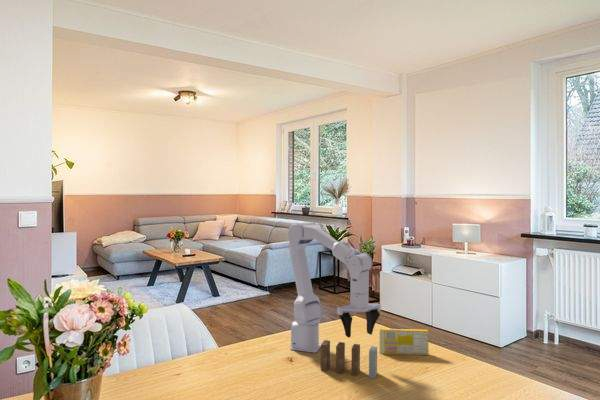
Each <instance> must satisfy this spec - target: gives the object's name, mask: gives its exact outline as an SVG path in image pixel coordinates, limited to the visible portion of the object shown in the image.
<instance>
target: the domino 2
mask: <svg viewBox="0 0 600 400" xmlns="http://www.w3.org/2000/svg"><path fill="white" fill-rule="evenodd" d="M345 347H346V343H345V341H344V342H341V341H338V343H337V344H336V346H335V373H336V374H343V372H344V370H345V367H346V365H345V364H346V363H345V362H346V361H345V360H346V358H345V357H346V355H345V354H346V352H345V351H346V349H345Z"/></svg>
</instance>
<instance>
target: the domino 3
mask: <svg viewBox="0 0 600 400" xmlns="http://www.w3.org/2000/svg"><path fill="white" fill-rule="evenodd" d="M350 362H351V366H350V367H351V368H350V369H351V375H352V376H358V375H359V372H360V371H361V344H358V343H353V345H352V347H351V361H350Z"/></svg>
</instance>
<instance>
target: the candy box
mask: <svg viewBox="0 0 600 400" xmlns="http://www.w3.org/2000/svg"><path fill="white" fill-rule="evenodd" d="M378 331H379V332H378V333H379V340H378V341H379V348H378V349H379V354H386V355H387V354H388V355H407V356H408V355H411V356H413V355H414V356H415V355H416V356H429V355H430V354H429V351H430V350H429V330H428V329H421V328H420V329H419V328H415V329H412V328H411V329H409V328H383V327H382V328H380V327H379V330H378Z"/></svg>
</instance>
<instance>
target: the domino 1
mask: <svg viewBox="0 0 600 400" xmlns="http://www.w3.org/2000/svg"><path fill="white" fill-rule="evenodd" d="M321 343H322V344H321V347H320V371H322V372H323V371H324V372H327V371H328V370H329V368H330V367H331V340H326V339H324V340H323V341H322V342H321Z"/></svg>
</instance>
